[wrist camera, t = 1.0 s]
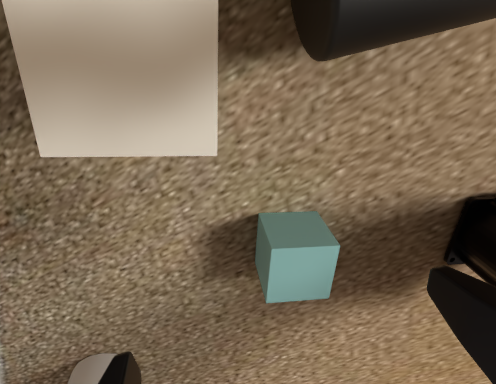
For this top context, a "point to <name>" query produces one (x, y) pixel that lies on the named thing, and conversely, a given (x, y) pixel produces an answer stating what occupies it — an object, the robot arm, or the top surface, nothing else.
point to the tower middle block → (118, 75)
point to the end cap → (378, 22)
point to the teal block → (295, 256)
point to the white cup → (91, 369)
